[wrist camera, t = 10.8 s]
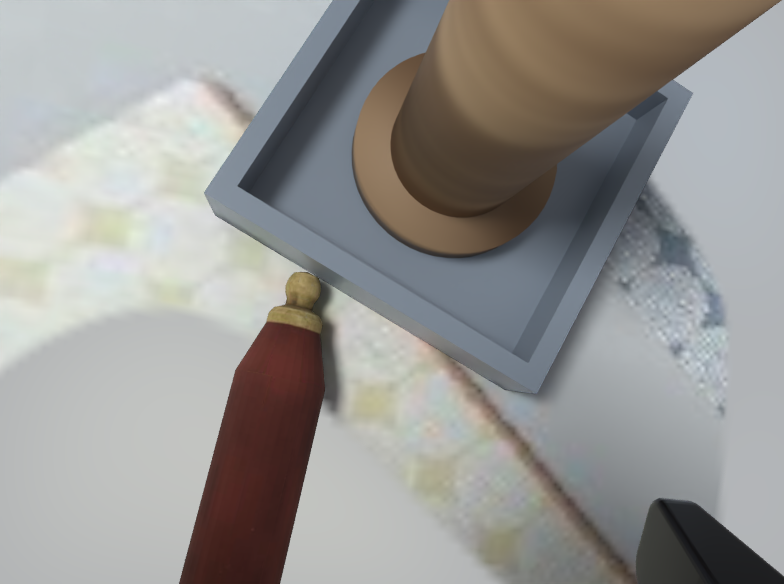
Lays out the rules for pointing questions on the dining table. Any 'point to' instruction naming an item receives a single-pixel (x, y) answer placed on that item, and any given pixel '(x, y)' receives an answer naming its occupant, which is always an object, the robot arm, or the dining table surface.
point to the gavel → (262, 449)
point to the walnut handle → (515, 107)
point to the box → (397, 261)
